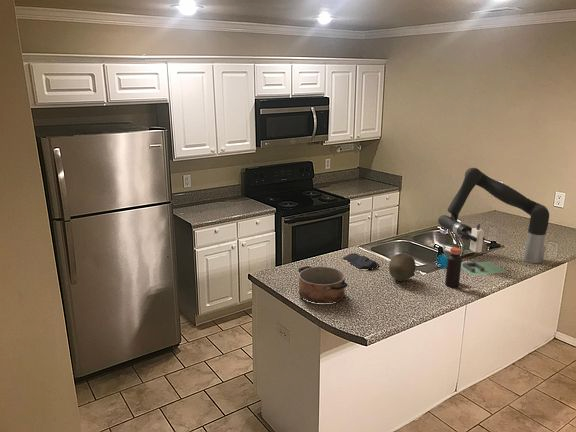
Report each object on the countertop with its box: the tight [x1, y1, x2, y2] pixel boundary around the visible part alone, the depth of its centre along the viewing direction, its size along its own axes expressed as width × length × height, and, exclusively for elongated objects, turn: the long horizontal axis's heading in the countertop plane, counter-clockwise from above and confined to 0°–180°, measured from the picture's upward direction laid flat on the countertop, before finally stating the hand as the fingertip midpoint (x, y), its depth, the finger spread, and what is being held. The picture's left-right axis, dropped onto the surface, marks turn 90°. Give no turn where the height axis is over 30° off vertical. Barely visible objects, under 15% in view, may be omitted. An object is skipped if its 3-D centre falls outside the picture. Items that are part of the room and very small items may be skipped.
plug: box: [469, 223, 485, 253], centre depth 248 cm, size 4×6×15 cm, turn 12°
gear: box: [436, 253, 449, 270], centre depth 258 cm, size 11×6×10 cm
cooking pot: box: [297, 265, 348, 303], centre depth 223 cm, size 30×22×11 cm
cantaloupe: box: [388, 252, 417, 282], centre depth 239 cm, size 14×14×15 cm
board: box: [461, 261, 508, 276], centre depth 254 cm, size 22×16×1 cm
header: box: [462, 261, 484, 272], centre depth 254 cm, size 8×11×2 cm
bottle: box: [444, 246, 463, 289], centre depth 232 cm, size 7×7×20 cm
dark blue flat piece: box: [342, 253, 380, 270], centre depth 264 cm, size 15×22×5 cm
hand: (480, 239), depth 246 cm, fingers closed on plug, 4 cm apart
